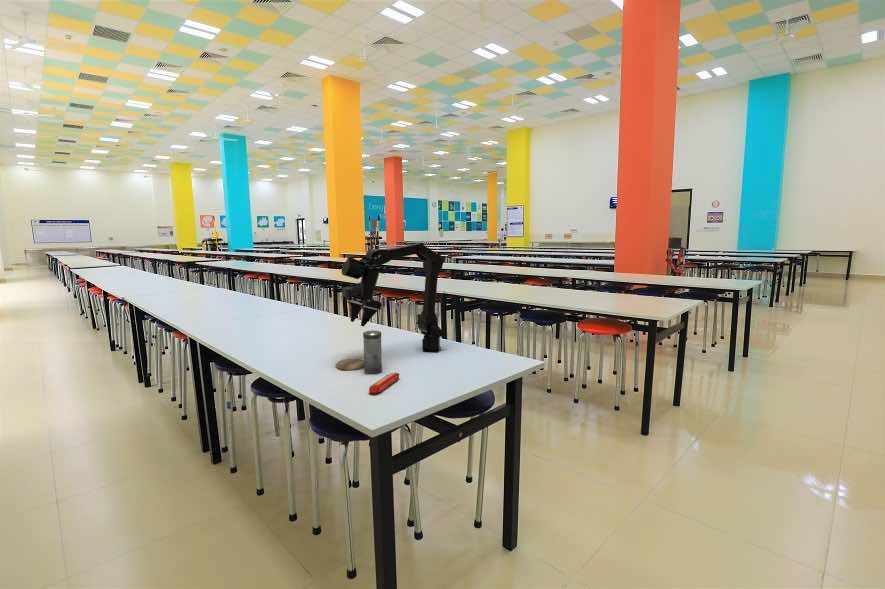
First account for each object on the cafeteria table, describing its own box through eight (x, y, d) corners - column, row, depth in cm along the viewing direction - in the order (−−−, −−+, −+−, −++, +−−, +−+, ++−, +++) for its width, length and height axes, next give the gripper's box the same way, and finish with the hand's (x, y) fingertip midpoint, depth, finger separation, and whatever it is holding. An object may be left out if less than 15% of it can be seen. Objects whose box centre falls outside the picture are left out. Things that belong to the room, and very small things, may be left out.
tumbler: (384, 369, 151) (383, 330, 149) (379, 375, 145) (378, 334, 143) (367, 368, 152) (366, 330, 150) (361, 374, 146) (360, 334, 144)
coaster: (370, 362, 160) (370, 359, 160) (360, 371, 149) (360, 368, 149) (343, 360, 162) (342, 358, 161) (330, 369, 151) (330, 367, 151)
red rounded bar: (391, 378, 143) (391, 369, 142) (401, 379, 142) (401, 370, 141) (366, 395, 128) (366, 386, 128) (377, 397, 127) (377, 387, 126)
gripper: (338, 274, 159) (327, 315, 158) (359, 279, 143) (346, 324, 143) (365, 282, 165) (354, 321, 165) (387, 287, 150) (375, 330, 149)
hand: (357, 323), depth 155 cm, fingers open, 9 cm apart
